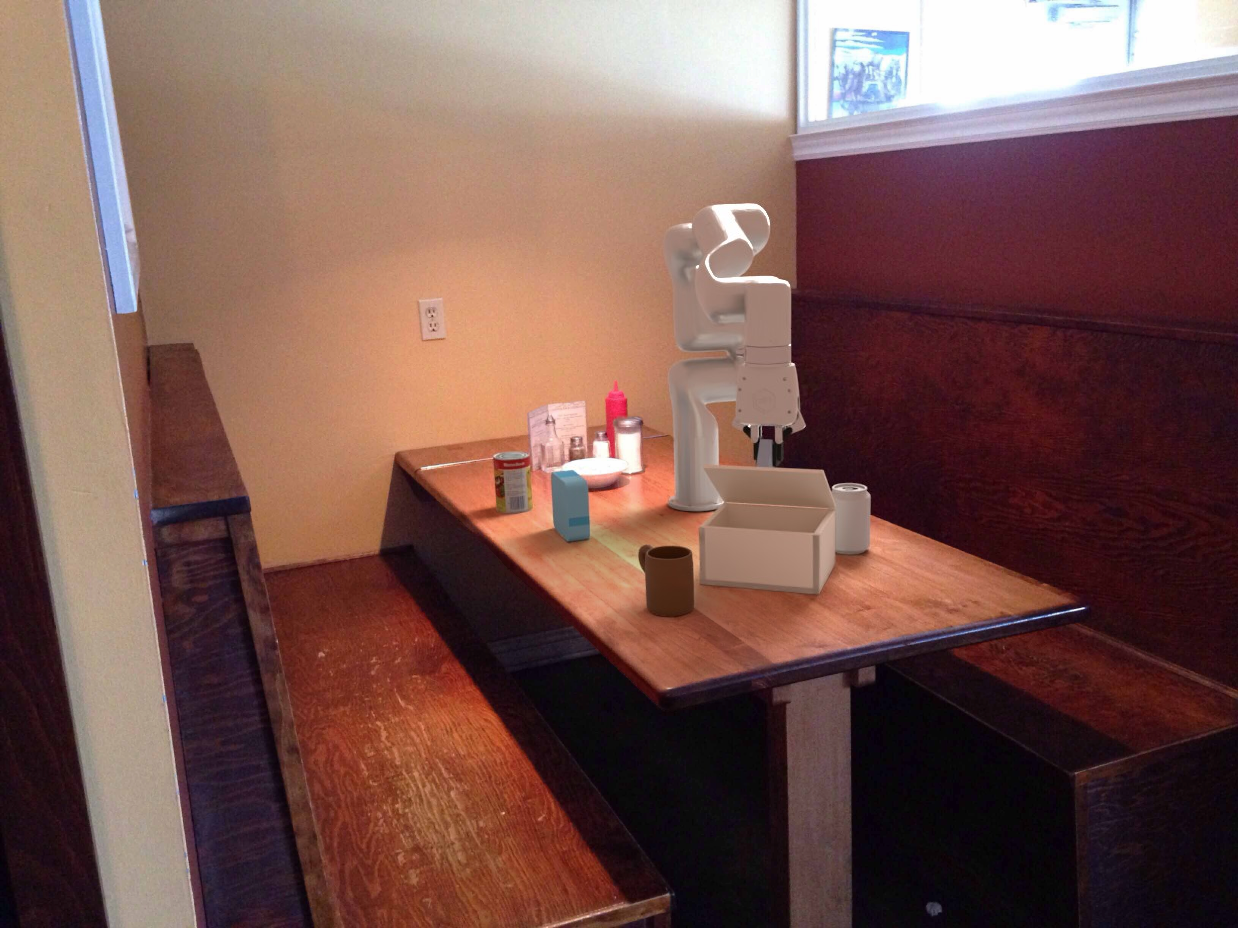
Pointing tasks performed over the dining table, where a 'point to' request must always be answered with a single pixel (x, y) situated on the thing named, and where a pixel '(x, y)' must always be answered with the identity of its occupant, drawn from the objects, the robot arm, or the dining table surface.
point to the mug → (668, 579)
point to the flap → (771, 483)
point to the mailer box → (768, 547)
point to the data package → (570, 505)
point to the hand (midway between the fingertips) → (768, 464)
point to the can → (851, 518)
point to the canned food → (513, 482)
